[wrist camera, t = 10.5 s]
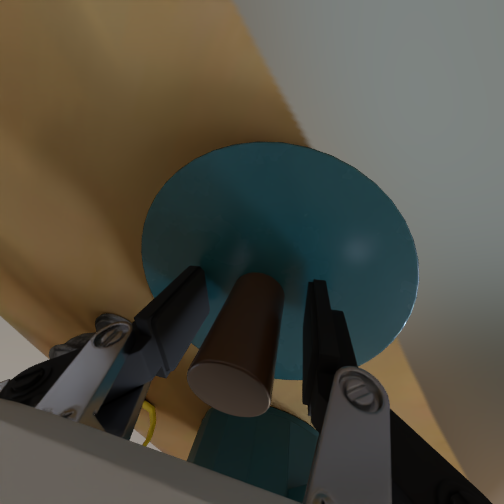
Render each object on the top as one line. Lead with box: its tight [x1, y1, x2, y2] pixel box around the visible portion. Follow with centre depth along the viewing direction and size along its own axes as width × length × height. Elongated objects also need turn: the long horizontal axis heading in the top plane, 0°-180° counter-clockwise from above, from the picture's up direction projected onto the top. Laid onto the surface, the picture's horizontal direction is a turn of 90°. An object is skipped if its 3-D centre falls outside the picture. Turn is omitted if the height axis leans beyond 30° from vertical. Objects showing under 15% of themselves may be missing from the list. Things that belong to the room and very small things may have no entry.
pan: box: [187, 407, 319, 503], centre depth 17 cm, size 13×19×6 cm
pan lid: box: [141, 142, 419, 417], centre depth 9 cm, size 14×14×6 cm
